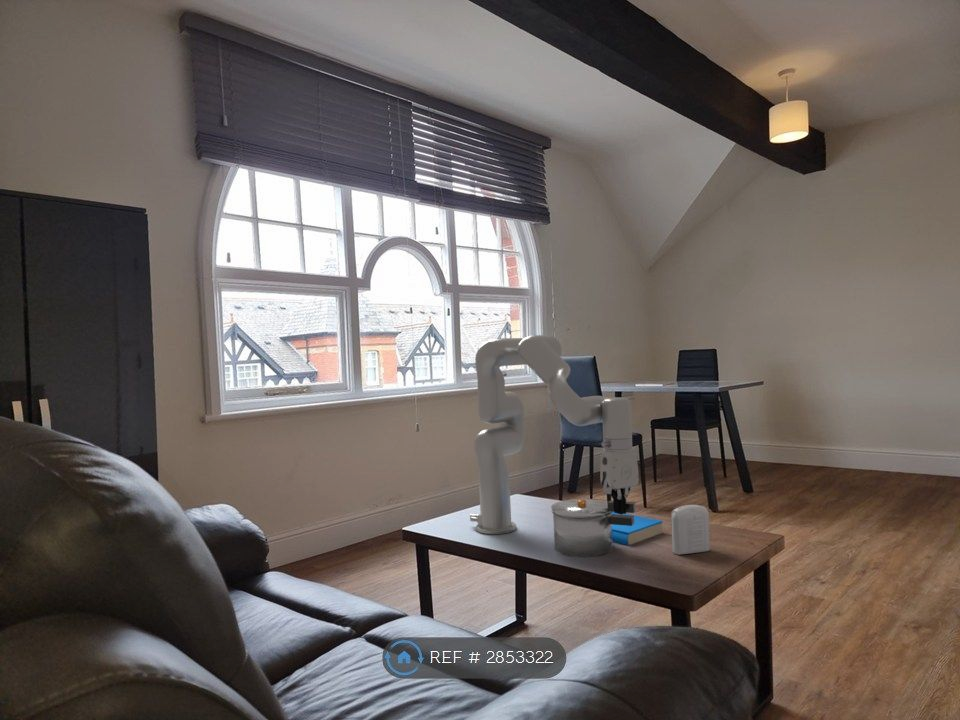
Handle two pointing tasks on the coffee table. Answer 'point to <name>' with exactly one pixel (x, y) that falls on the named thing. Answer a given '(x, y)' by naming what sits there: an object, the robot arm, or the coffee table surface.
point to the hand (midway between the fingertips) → (620, 512)
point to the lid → (587, 508)
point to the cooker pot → (587, 534)
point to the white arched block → (690, 529)
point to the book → (636, 530)
